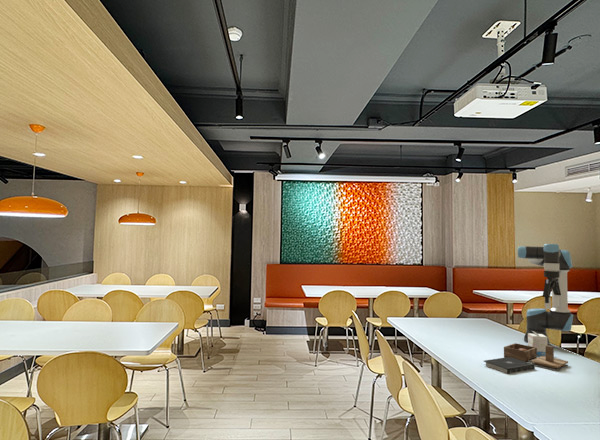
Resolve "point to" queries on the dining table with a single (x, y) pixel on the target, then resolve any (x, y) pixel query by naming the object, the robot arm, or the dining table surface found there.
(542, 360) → the lid
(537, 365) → the mat
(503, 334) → the dining table surface
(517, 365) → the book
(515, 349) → the crate
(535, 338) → the ink box
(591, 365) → the dining table surface
